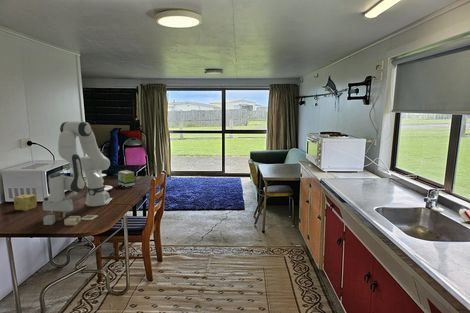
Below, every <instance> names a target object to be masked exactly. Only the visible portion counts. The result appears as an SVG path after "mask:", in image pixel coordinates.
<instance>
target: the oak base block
mask: <svg viewBox="0 0 470 313" xmlns="http://www.w3.org/2000/svg"><path fill="white" fill-rule="evenodd" d="M81 218H82V217H81V216H80V215H70V216H68V217H65V218H64V219H63V222H64V226H77V225H78V224H79V223H80V222H81V221H82V220H81Z"/></svg>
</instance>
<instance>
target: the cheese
mask: <svg viewBox="0 0 470 313" xmlns="http://www.w3.org/2000/svg"><path fill="white" fill-rule="evenodd" d="M37 199H38V198H37V195H36V194H20V195H18V196H15V197H13V204H14V205H13V206H14V210H16V211H24V212H26V211H29V210H33V209H35V208H37V206H38V203H37V202H38V200H37Z"/></svg>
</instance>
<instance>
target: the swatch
mask: <svg viewBox="0 0 470 313" xmlns="http://www.w3.org/2000/svg"><path fill="white" fill-rule="evenodd" d="M97 217H99V215H97V214H96V215H95V214H87V215H85V216H82V217H81V221H84V220H85V221H91V220H94V219H96V218H97Z"/></svg>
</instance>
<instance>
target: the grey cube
mask: <svg viewBox="0 0 470 313" xmlns="http://www.w3.org/2000/svg"><path fill="white" fill-rule="evenodd" d="M42 219H43V220H42V221H43V226H49V225H50V226H51V225H53V224H55V222H56V220H55V215H52V214H46V215H45V216H43V217H42Z"/></svg>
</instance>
